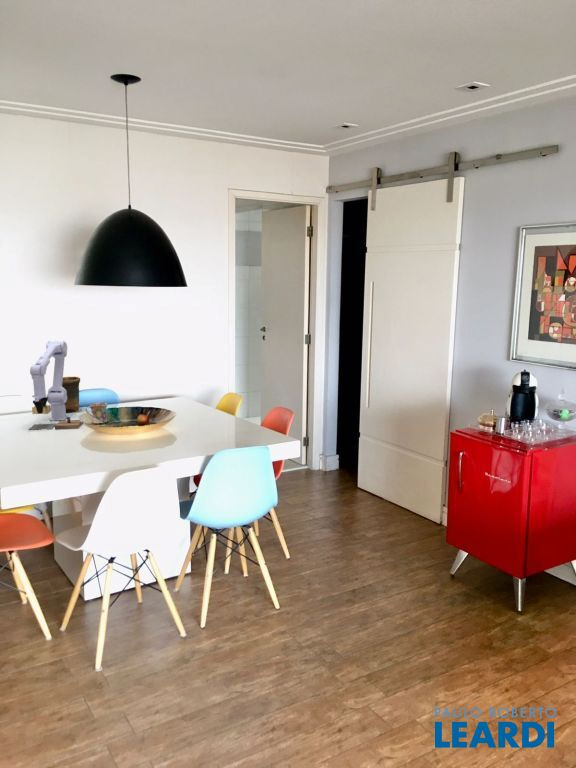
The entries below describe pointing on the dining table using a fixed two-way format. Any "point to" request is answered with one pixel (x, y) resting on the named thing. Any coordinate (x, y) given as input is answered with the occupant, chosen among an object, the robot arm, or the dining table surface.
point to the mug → (98, 411)
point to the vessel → (71, 394)
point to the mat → (42, 426)
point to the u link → (45, 409)
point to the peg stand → (68, 424)
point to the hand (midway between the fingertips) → (41, 412)
